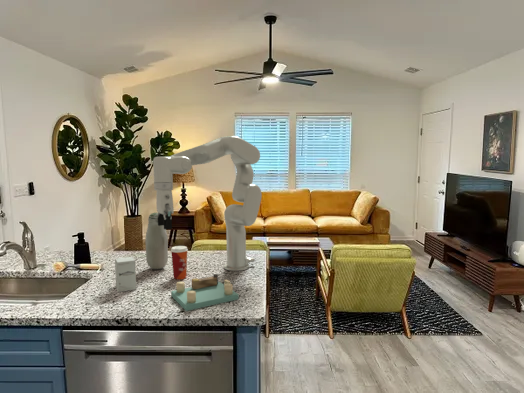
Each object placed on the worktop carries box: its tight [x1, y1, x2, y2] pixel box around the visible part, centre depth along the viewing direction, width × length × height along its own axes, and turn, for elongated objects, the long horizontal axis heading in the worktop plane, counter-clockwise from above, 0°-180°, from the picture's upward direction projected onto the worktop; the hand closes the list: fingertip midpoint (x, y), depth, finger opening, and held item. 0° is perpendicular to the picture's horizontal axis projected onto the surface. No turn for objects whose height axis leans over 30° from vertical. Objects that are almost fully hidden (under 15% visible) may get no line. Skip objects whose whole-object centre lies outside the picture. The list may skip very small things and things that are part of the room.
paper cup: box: [170, 245, 189, 280], centre depth 167 cm, size 8×8×14 cm
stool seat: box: [170, 279, 239, 312], centre depth 143 cm, size 21×17×6 cm
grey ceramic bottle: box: [144, 212, 169, 270], centre depth 180 cm, size 10×10×28 cm
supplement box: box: [114, 256, 137, 293], centre depth 153 cm, size 7×7×13 cm
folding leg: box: [191, 273, 219, 289], centre depth 149 cm, size 11×2×4 cm, turn 121°
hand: (164, 227), depth 154 cm, fingers open, 9 cm apart
